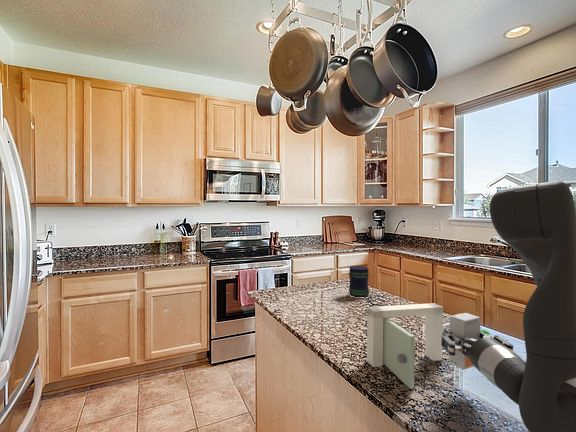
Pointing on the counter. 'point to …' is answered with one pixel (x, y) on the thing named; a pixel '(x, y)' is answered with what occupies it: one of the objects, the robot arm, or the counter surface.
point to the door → (399, 351)
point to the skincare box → (467, 328)
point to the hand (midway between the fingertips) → (460, 332)
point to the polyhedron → (486, 332)
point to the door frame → (378, 313)
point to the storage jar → (358, 281)
